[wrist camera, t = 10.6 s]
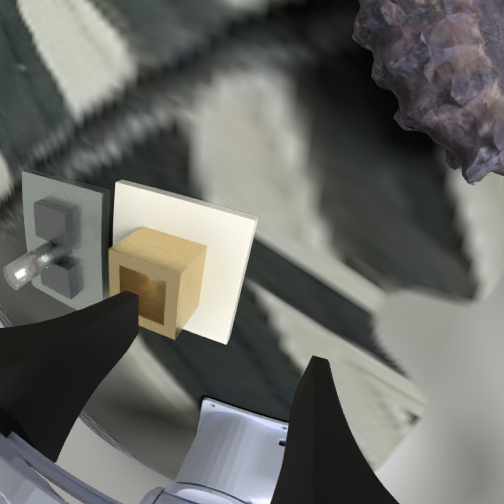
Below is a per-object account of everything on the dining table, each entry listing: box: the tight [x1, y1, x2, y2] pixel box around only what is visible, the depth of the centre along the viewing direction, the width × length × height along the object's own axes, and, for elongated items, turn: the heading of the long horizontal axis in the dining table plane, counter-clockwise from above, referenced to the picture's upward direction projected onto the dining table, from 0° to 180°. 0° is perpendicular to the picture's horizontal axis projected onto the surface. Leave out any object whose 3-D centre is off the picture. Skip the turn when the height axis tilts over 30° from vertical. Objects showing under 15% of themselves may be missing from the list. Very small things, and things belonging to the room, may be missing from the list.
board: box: [113, 180, 258, 344], centre depth 22 cm, size 10×10×1 cm
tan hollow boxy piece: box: [109, 226, 207, 340], centre depth 20 cm, size 5×5×4 cm
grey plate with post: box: [4, 169, 111, 310], centre depth 22 cm, size 10×12×7 cm
